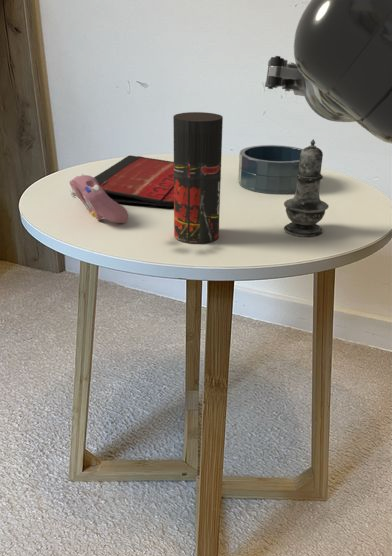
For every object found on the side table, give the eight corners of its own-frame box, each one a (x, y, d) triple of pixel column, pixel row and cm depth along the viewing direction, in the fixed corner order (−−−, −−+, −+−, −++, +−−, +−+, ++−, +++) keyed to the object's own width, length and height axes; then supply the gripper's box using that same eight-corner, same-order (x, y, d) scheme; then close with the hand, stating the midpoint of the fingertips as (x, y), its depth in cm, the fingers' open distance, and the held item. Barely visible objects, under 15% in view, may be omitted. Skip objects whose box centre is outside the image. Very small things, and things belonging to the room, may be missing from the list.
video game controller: (83, 216, 90) (58, 177, 85) (108, 200, 91) (84, 160, 86) (106, 238, 82) (80, 196, 78) (133, 219, 83) (108, 177, 79)
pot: (309, 176, 106) (312, 146, 103) (309, 196, 96) (313, 164, 93) (241, 172, 107) (243, 143, 105) (235, 191, 97) (236, 160, 94)
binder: (77, 184, 91) (127, 153, 108) (78, 200, 92) (127, 166, 109) (178, 199, 87) (213, 164, 105) (177, 214, 89) (212, 178, 106)
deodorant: (172, 228, 82) (171, 112, 74) (215, 227, 83) (218, 111, 75) (176, 244, 77) (175, 121, 69) (222, 242, 78) (226, 121, 70)
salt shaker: (302, 219, 86) (311, 132, 79) (333, 231, 82) (346, 140, 76) (272, 228, 83) (280, 138, 76) (304, 240, 79) (314, 146, 72)
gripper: (445, 35, 49) (404, 54, 64) (273, 16, 50) (272, 39, 65) (421, 132, 52) (388, 128, 67) (259, 111, 53) (261, 113, 68)
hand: (331, 84), depth 66 cm, fingers open, 8 cm apart
